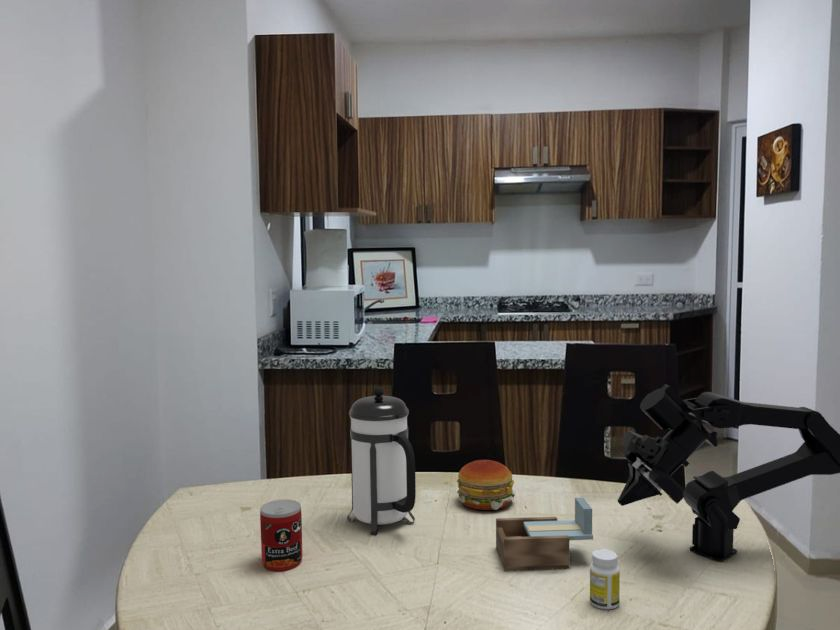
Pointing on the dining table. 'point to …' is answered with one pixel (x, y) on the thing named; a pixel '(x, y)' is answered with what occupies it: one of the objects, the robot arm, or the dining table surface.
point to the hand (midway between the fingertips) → (619, 503)
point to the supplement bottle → (604, 579)
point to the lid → (566, 524)
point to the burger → (485, 485)
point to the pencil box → (529, 546)
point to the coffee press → (381, 461)
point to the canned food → (281, 534)
